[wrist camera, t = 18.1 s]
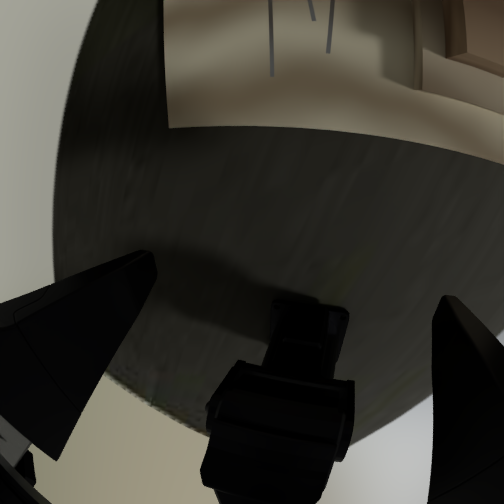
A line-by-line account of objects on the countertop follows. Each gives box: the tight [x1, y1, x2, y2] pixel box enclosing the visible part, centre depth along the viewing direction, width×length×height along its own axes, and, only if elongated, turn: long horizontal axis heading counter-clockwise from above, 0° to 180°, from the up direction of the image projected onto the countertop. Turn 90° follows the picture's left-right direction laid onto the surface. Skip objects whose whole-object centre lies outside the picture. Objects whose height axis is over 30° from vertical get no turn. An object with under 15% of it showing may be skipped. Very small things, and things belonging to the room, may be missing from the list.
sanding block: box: [411, 0, 504, 116], centre depth 7 cm, size 10×6×5 cm, turn 1°
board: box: [164, 0, 504, 164], centre depth 11 cm, size 16×24×2 cm, turn 91°
